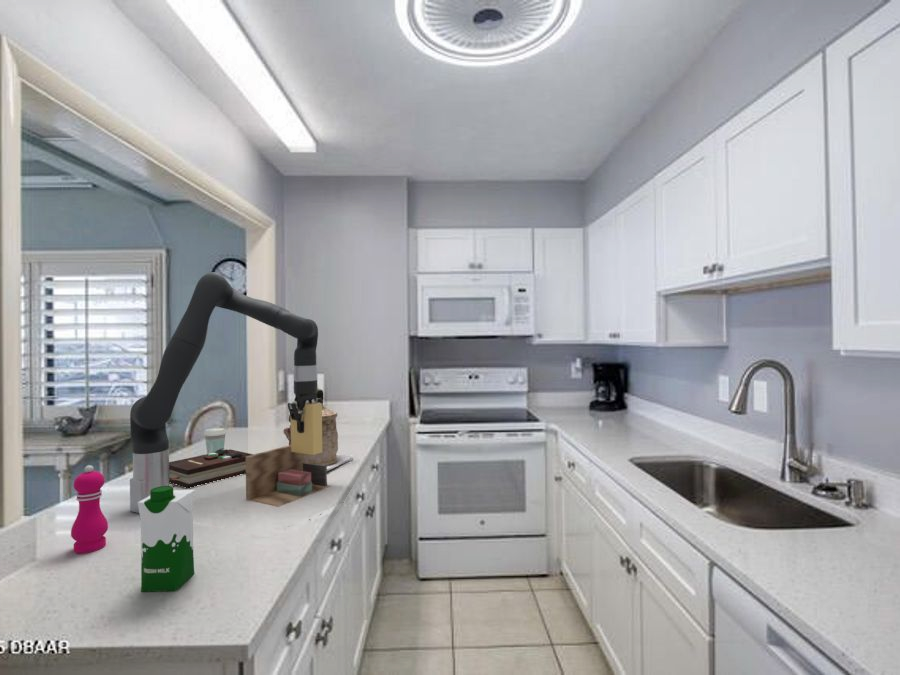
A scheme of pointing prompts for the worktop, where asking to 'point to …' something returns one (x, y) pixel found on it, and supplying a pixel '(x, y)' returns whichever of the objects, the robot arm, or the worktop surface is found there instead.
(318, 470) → the shelf
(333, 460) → the cookie jar
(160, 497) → the milk carton
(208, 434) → the coffee cup
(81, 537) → the pepper mill
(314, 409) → the ochre book
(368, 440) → the worktop surface
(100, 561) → the worktop surface
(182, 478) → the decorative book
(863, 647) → the worktop surface
